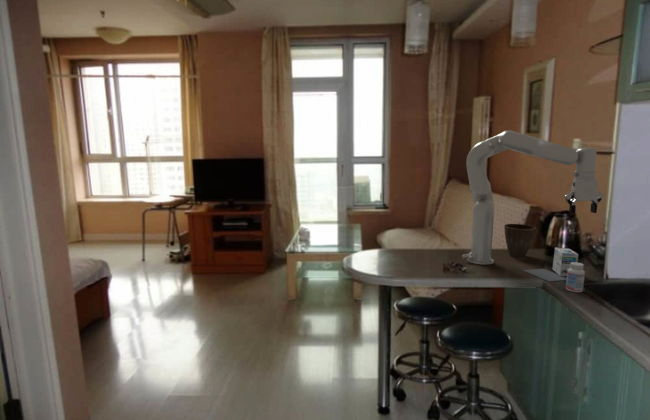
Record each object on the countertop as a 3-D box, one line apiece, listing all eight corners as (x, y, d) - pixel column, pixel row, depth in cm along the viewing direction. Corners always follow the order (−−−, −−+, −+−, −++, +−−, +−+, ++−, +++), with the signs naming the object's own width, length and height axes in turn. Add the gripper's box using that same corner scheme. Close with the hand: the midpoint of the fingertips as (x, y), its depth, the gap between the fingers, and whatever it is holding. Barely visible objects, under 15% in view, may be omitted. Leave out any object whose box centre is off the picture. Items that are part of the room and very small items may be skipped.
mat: (548, 281, 177) (548, 281, 177) (523, 270, 193) (523, 270, 193) (570, 280, 180) (570, 279, 180) (543, 269, 195) (543, 268, 195)
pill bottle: (562, 287, 170) (564, 261, 168) (576, 287, 170) (578, 261, 169) (572, 293, 164) (574, 266, 162) (586, 292, 165) (589, 265, 163)
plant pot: (523, 252, 225) (526, 223, 223) (539, 259, 211) (541, 229, 208) (497, 252, 225) (499, 223, 222) (510, 260, 210) (513, 229, 207)
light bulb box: (576, 277, 182) (579, 254, 181) (559, 276, 184) (562, 252, 182) (567, 270, 193) (570, 248, 191) (551, 269, 194) (554, 247, 192)
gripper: (571, 176, 181) (569, 215, 183) (609, 175, 181) (607, 213, 184) (561, 175, 188) (559, 212, 191) (598, 174, 189) (596, 211, 191)
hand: (582, 213), depth 187 cm, fingers open, 9 cm apart
